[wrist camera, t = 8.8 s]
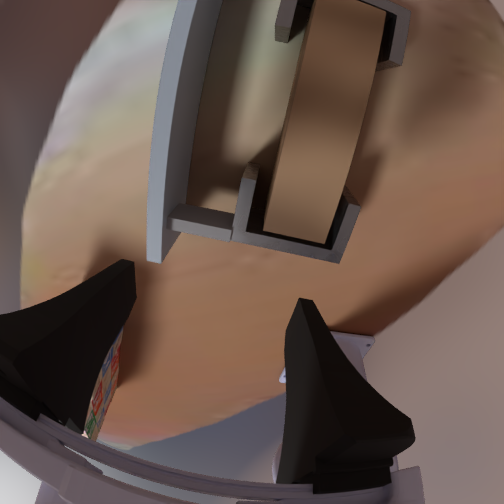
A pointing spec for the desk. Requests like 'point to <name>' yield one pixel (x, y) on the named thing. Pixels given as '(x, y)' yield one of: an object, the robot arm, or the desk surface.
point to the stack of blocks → (103, 391)
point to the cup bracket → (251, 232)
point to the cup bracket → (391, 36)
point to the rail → (323, 117)
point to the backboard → (181, 133)
